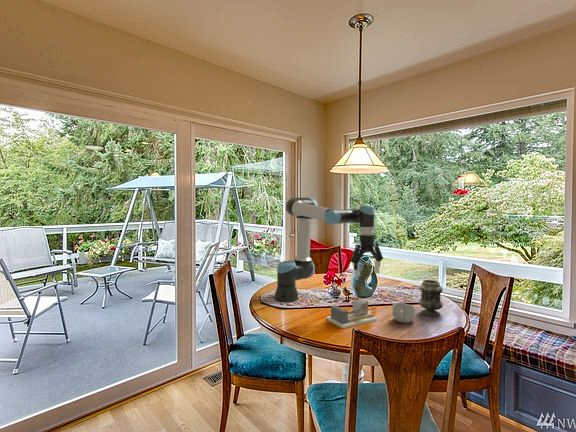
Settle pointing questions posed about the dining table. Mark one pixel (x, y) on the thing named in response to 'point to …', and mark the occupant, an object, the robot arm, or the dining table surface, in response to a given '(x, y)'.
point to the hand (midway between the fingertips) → (367, 274)
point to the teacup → (403, 312)
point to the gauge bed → (348, 317)
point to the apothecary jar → (430, 297)
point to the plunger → (360, 308)
